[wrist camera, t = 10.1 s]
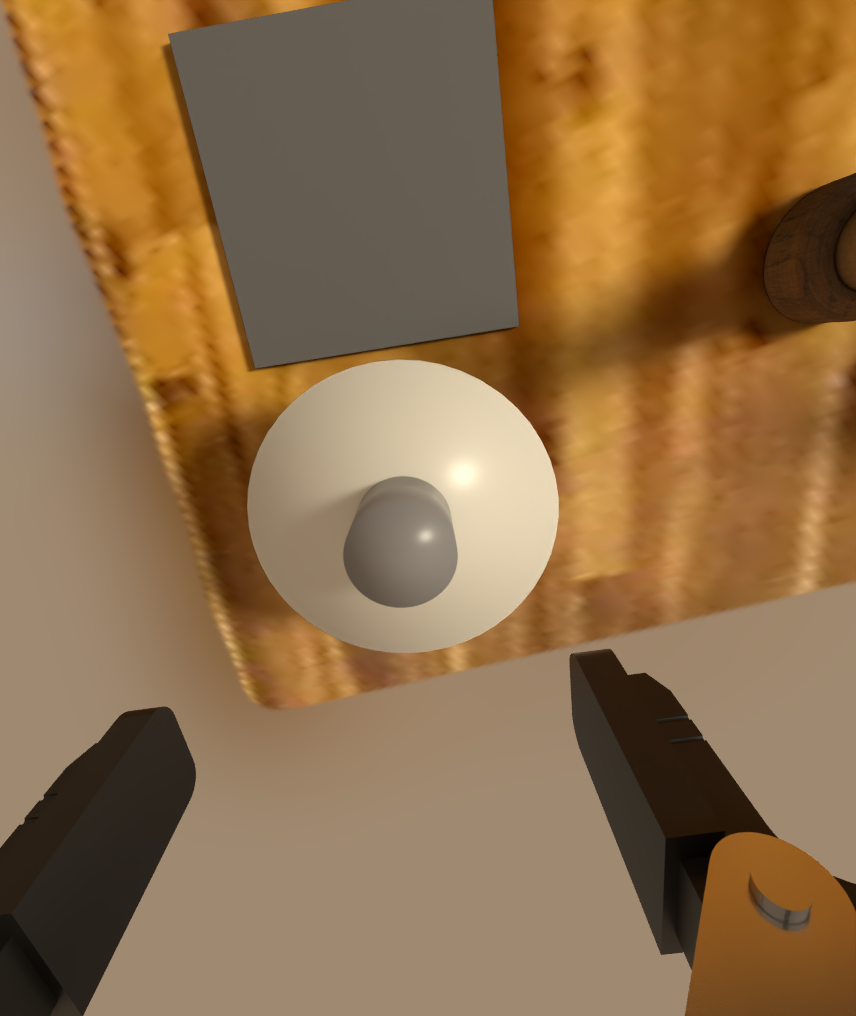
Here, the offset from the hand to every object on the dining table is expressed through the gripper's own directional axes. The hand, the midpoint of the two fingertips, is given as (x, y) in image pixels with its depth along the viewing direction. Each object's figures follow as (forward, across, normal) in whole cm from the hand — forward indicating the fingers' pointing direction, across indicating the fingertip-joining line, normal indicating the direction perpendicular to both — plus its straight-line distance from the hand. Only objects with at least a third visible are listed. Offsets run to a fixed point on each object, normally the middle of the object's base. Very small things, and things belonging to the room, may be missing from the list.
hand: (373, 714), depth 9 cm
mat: (+19, 0, -14) cm, 24 cm away
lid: (+12, 0, 0) cm, 12 cm away
